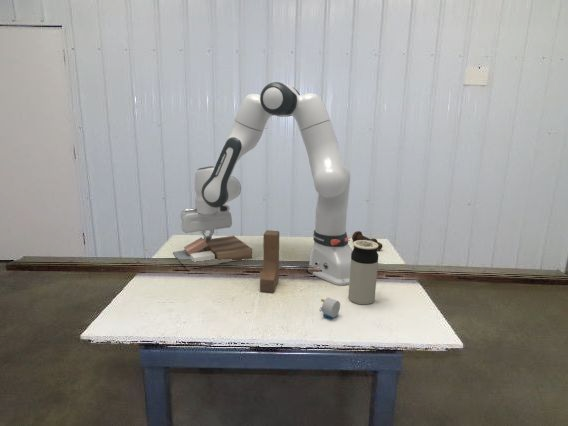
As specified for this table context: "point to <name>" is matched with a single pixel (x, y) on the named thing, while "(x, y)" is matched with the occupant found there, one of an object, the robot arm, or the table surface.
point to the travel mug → (363, 272)
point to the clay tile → (196, 246)
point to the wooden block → (270, 262)
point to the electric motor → (330, 307)
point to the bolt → (359, 236)
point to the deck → (229, 248)
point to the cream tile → (202, 256)
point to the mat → (184, 254)
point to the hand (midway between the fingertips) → (207, 240)
